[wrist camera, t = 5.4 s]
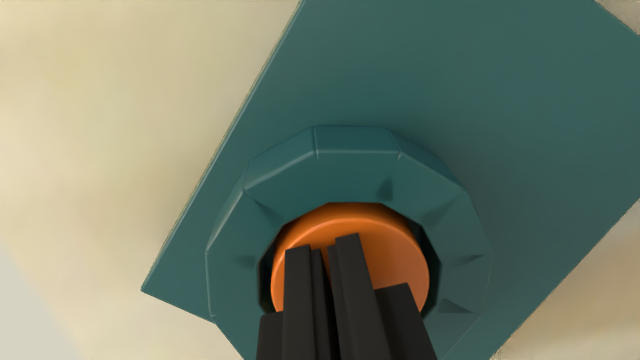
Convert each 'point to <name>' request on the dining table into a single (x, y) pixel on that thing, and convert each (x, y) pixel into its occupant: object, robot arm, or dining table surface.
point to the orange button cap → (376, 238)
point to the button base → (422, 156)
